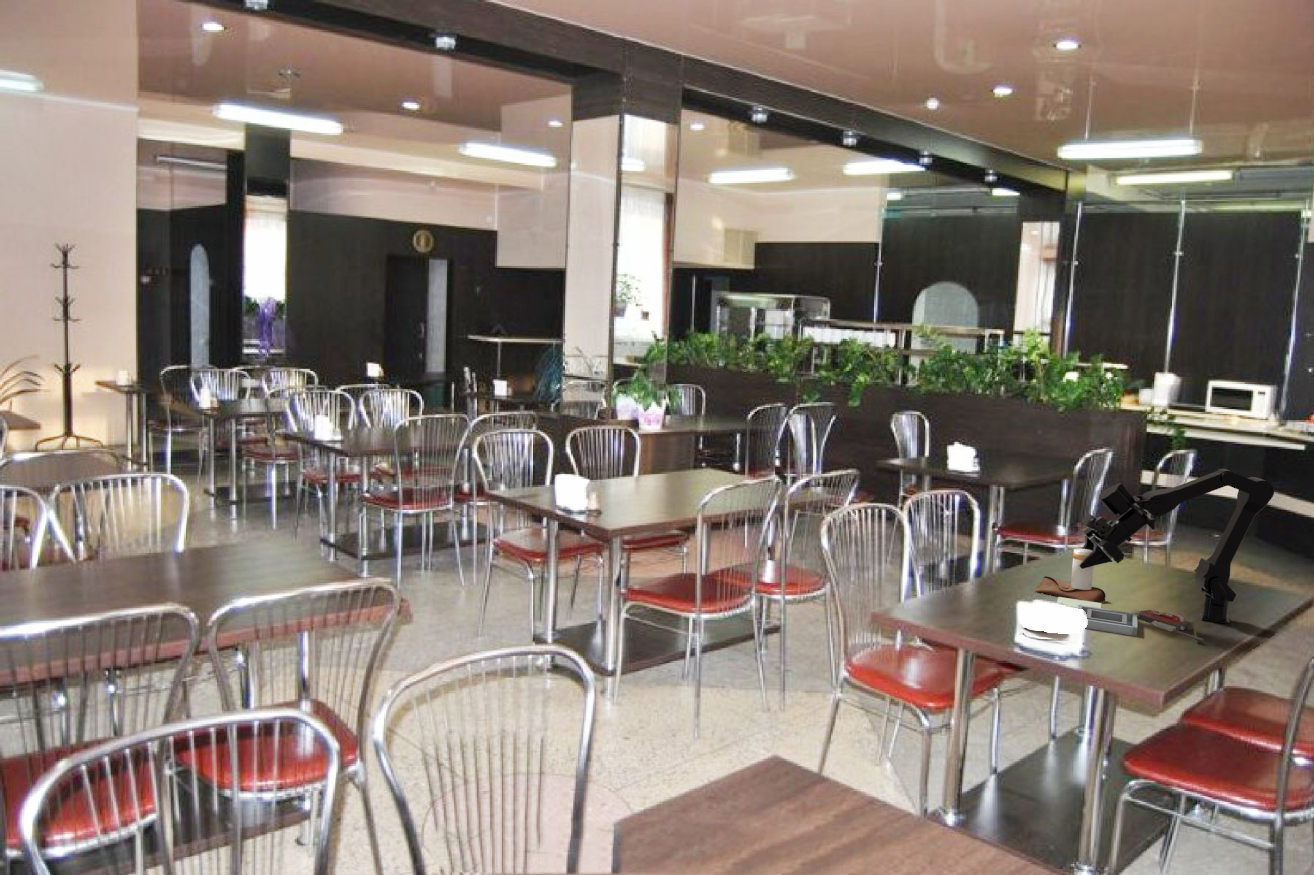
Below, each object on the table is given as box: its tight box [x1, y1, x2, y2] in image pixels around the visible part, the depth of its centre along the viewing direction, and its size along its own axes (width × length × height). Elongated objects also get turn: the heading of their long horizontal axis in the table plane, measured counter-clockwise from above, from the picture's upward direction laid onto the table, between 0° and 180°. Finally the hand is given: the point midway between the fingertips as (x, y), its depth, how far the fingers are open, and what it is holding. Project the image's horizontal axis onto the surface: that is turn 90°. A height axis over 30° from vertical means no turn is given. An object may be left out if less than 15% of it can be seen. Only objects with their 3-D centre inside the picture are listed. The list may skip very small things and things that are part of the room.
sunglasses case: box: [1034, 575, 1106, 603], centre depth 283 cm, size 18×7×7 cm, turn 46°
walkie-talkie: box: [1137, 609, 1205, 643], centre depth 254 cm, size 9×4×20 cm
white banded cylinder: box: [1070, 548, 1095, 590], centre depth 269 cm, size 5×5×10 cm
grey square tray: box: [1078, 605, 1138, 637], centre depth 254 cm, size 14×14×3 cm
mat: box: [1056, 597, 1103, 608], centre depth 270 cm, size 11×11×1 cm
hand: (1077, 564), depth 269 cm, fingers closed on white banded cylinder, 5 cm apart
